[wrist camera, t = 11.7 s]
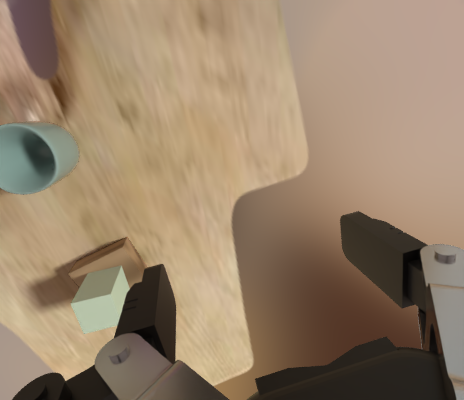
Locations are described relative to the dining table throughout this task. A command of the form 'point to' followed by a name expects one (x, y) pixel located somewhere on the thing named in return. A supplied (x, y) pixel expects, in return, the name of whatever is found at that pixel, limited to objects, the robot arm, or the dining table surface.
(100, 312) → the green block
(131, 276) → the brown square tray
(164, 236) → the dining table surface
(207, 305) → the dining table surface
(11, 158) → the cup
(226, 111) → the dining table surface
